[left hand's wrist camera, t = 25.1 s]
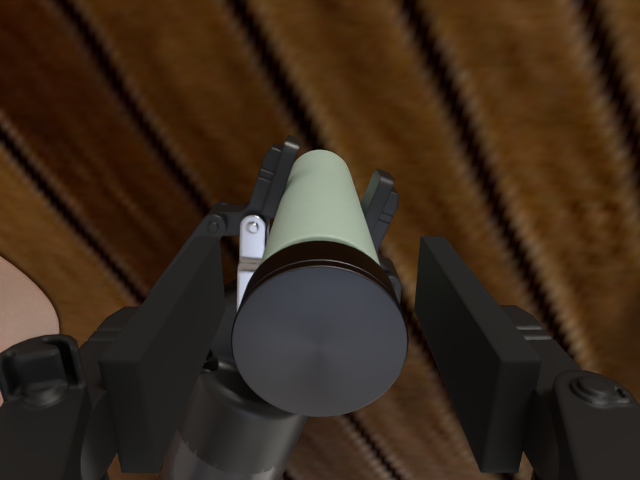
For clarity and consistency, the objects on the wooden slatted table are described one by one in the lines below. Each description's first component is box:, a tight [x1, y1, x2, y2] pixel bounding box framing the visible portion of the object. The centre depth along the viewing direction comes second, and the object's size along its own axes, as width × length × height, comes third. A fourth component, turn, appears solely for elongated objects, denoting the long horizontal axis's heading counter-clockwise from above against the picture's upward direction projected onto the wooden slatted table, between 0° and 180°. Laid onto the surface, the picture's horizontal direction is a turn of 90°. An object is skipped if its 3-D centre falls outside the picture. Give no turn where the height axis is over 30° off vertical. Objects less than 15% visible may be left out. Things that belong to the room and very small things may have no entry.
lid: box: [231, 240, 408, 417], centre depth 11 cm, size 4×4×2 cm
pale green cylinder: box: [259, 150, 380, 266], centre depth 19 cm, size 4×4×17 cm
